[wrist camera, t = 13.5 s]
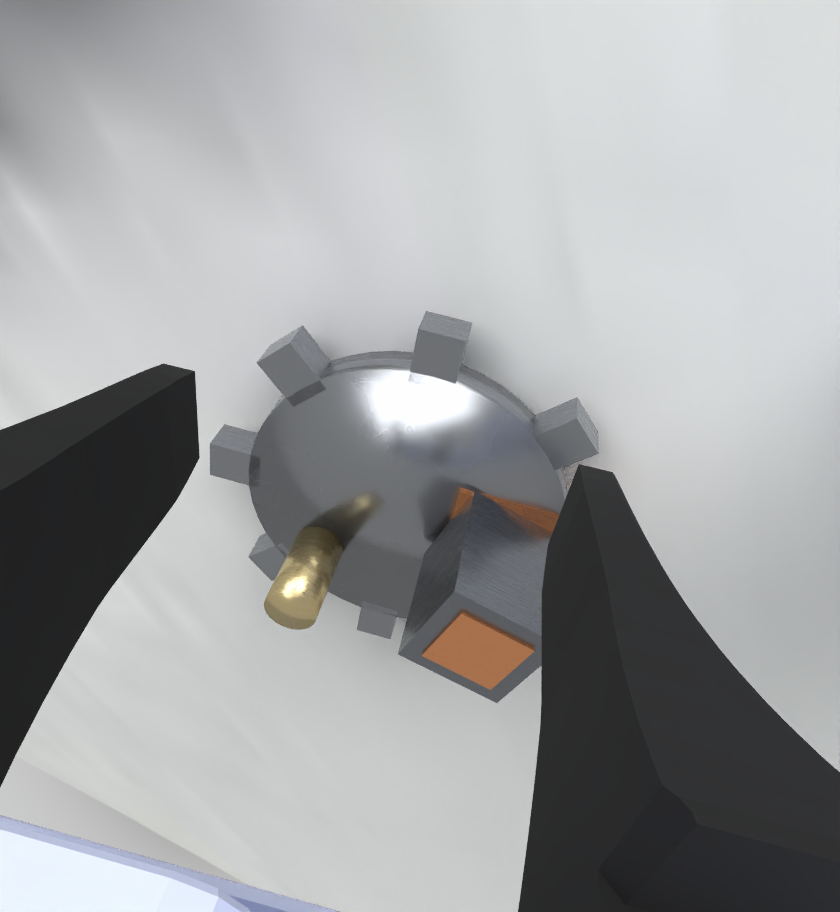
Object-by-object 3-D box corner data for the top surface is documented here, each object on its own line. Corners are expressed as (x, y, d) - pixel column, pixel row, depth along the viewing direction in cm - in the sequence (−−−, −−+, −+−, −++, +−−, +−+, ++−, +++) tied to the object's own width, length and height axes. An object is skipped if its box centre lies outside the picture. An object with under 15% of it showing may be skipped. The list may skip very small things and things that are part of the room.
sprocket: (471, 222, 18) (445, 285, 15) (676, 562, 24) (692, 665, 21) (149, 419, 25) (78, 495, 21) (371, 652, 30) (343, 743, 27)
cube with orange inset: (565, 539, 23) (562, 650, 19) (508, 596, 25) (496, 705, 21) (474, 490, 22) (453, 593, 19) (424, 552, 24) (397, 656, 21)
